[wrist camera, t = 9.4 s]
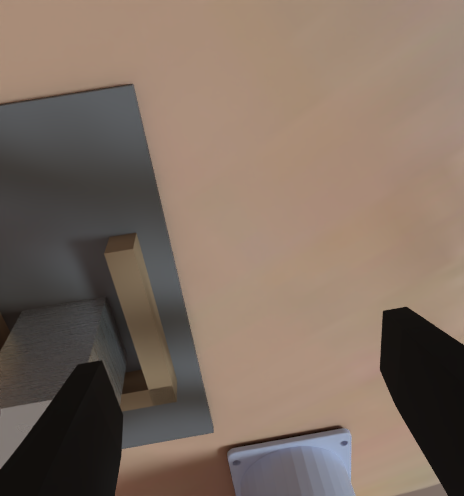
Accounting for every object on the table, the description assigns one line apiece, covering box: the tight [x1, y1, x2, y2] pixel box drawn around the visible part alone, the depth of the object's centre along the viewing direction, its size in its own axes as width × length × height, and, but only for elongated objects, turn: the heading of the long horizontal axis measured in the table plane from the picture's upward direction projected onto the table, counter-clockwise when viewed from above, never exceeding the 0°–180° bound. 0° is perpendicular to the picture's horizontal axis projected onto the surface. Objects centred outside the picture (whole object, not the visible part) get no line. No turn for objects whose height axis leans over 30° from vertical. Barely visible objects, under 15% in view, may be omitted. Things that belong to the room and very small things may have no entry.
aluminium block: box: [0, 297, 127, 469], centre depth 18 cm, size 4×4×6 cm
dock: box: [0, 84, 214, 449], centre depth 20 cm, size 20×11×2 cm, turn 8°
